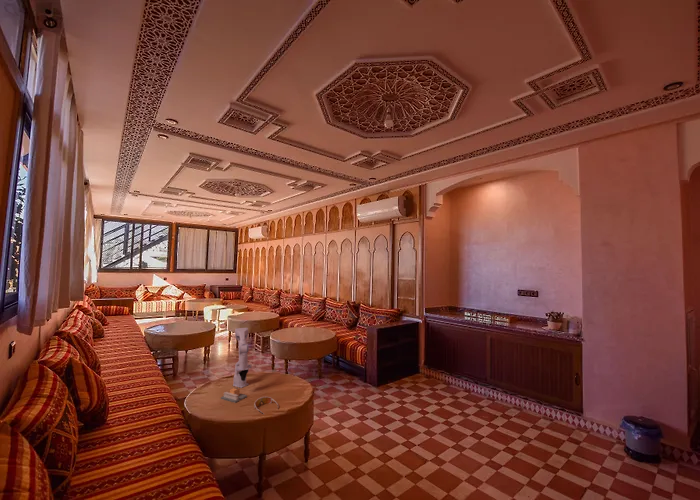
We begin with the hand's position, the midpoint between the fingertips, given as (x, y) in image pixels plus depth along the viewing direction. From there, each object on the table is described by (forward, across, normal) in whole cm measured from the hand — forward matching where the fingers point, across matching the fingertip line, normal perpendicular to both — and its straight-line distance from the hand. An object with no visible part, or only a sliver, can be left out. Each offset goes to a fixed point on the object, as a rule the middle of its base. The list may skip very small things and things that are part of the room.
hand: (243, 380), depth 235 cm
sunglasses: (+10, -10, -31) cm, 34 cm away
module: (+8, -8, 0) cm, 12 cm away
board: (+9, -8, 0) cm, 13 cm away
